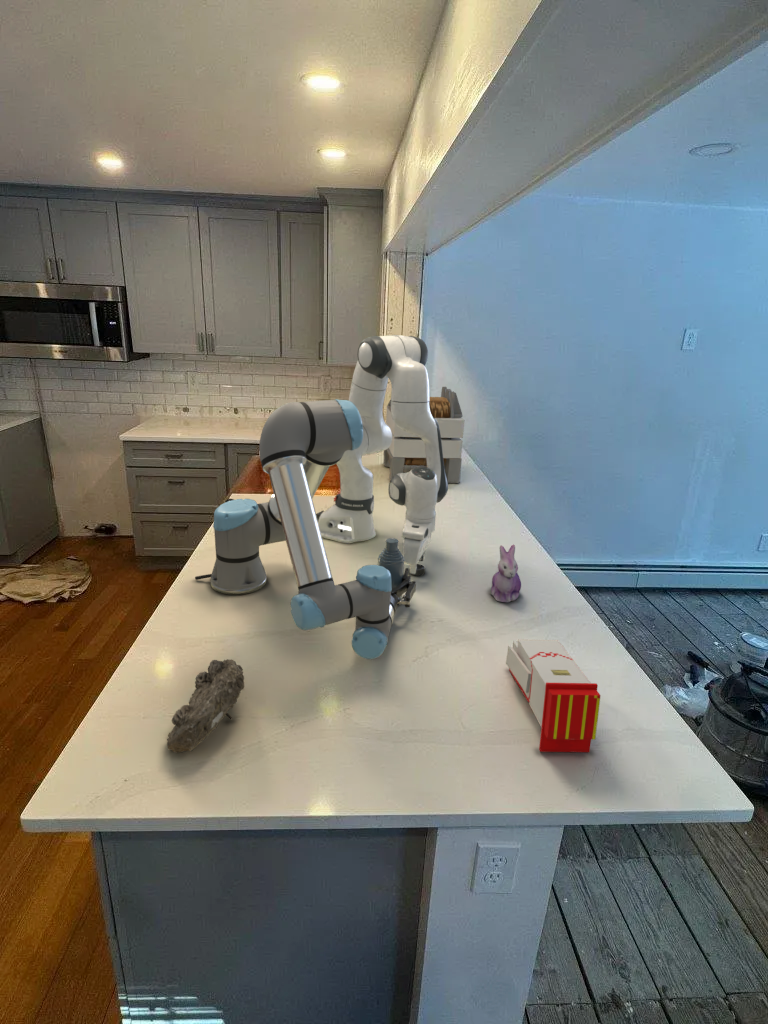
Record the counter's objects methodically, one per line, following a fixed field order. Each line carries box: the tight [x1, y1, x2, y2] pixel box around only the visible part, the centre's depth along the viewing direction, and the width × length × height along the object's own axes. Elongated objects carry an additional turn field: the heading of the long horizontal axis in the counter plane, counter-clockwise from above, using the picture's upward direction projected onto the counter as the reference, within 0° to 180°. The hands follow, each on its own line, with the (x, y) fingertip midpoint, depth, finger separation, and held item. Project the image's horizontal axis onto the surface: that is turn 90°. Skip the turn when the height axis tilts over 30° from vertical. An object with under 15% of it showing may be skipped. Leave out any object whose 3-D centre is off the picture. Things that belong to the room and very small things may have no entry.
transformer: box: [383, 386, 465, 484], centre depth 268 cm, size 34×33×41 cm
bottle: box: [377, 537, 405, 599], centre depth 152 cm, size 7×7×18 cm
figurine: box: [490, 544, 522, 603], centre depth 157 cm, size 9×10×15 cm
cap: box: [408, 563, 426, 577], centre depth 171 cm, size 5×5×2 cm
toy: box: [505, 638, 602, 753], centre depth 114 cm, size 12×13×30 cm
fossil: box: [166, 658, 245, 754], centre depth 106 cm, size 22×10×15 cm
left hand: (392, 571), depth 157 cm, fingers closed on bottle, 7 cm apart
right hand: (417, 566), depth 170 cm, fingers open, 8 cm apart
